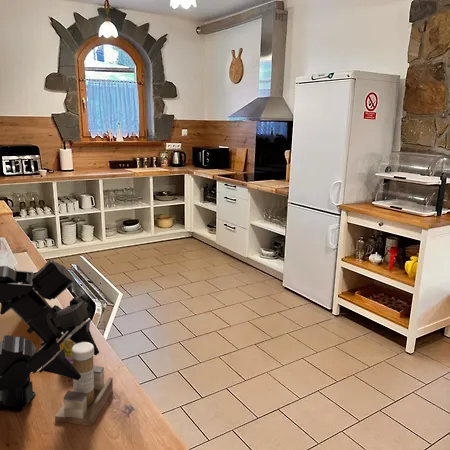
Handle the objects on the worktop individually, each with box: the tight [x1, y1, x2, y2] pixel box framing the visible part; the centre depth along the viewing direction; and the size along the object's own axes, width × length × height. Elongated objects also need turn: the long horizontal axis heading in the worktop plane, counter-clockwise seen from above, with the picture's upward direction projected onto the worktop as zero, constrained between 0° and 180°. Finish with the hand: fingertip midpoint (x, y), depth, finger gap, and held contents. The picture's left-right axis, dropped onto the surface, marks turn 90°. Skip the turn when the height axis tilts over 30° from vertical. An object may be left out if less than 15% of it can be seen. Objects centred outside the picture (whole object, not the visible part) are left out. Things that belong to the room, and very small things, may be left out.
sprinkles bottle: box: [72, 342, 95, 405], centre depth 92 cm, size 5×5×13 cm
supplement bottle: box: [61, 332, 76, 365], centre depth 109 cm, size 5×5×10 cm
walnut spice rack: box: [54, 365, 114, 427], centre depth 94 cm, size 8×12×6 cm, turn 174°
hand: (89, 365), depth 92 cm, fingers open, 9 cm apart
